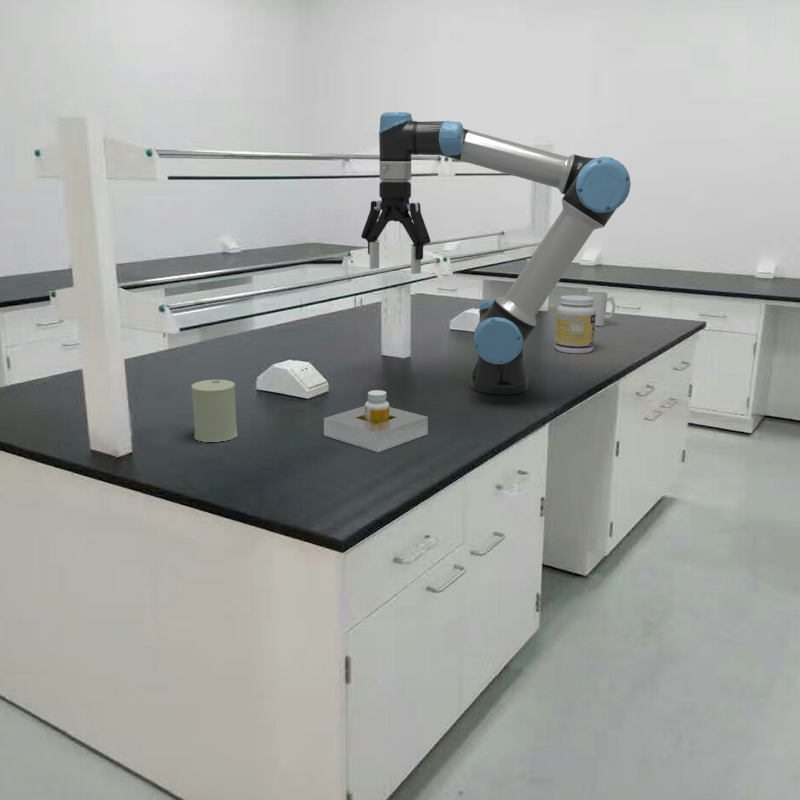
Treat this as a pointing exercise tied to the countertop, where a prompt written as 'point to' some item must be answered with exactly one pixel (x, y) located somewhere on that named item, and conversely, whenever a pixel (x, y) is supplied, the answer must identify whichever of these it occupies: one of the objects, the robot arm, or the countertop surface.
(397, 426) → the block with square hole
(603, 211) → the robot arm
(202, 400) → the can
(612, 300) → the mug
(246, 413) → the countertop surface
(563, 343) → the supplement tub
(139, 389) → the countertop surface
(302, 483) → the countertop surface
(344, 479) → the countertop surface
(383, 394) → the supplement bottle
